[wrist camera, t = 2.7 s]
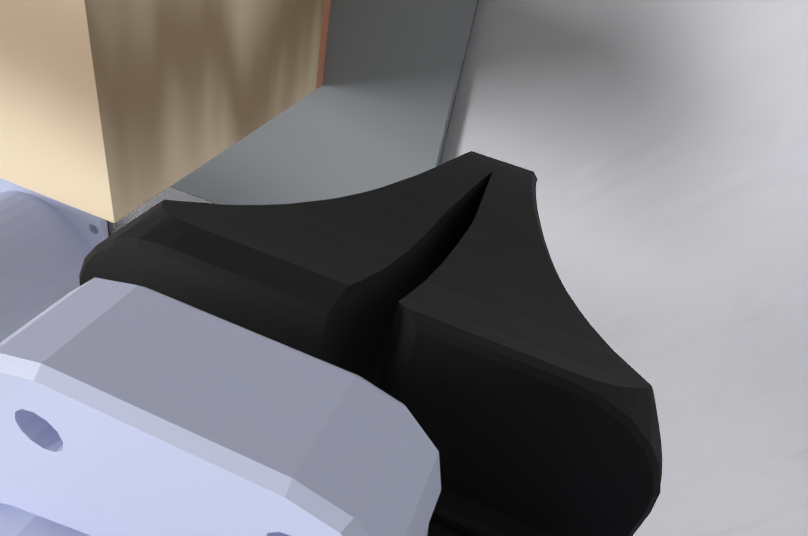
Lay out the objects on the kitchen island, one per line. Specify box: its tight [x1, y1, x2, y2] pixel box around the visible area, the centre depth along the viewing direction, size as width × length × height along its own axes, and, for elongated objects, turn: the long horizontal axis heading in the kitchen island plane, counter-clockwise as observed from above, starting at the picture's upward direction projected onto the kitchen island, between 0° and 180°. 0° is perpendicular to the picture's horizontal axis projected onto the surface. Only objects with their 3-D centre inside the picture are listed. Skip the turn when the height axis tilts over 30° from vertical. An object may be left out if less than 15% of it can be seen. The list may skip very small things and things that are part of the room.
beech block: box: [0, 0, 331, 223], centre depth 16 cm, size 5×5×10 cm
